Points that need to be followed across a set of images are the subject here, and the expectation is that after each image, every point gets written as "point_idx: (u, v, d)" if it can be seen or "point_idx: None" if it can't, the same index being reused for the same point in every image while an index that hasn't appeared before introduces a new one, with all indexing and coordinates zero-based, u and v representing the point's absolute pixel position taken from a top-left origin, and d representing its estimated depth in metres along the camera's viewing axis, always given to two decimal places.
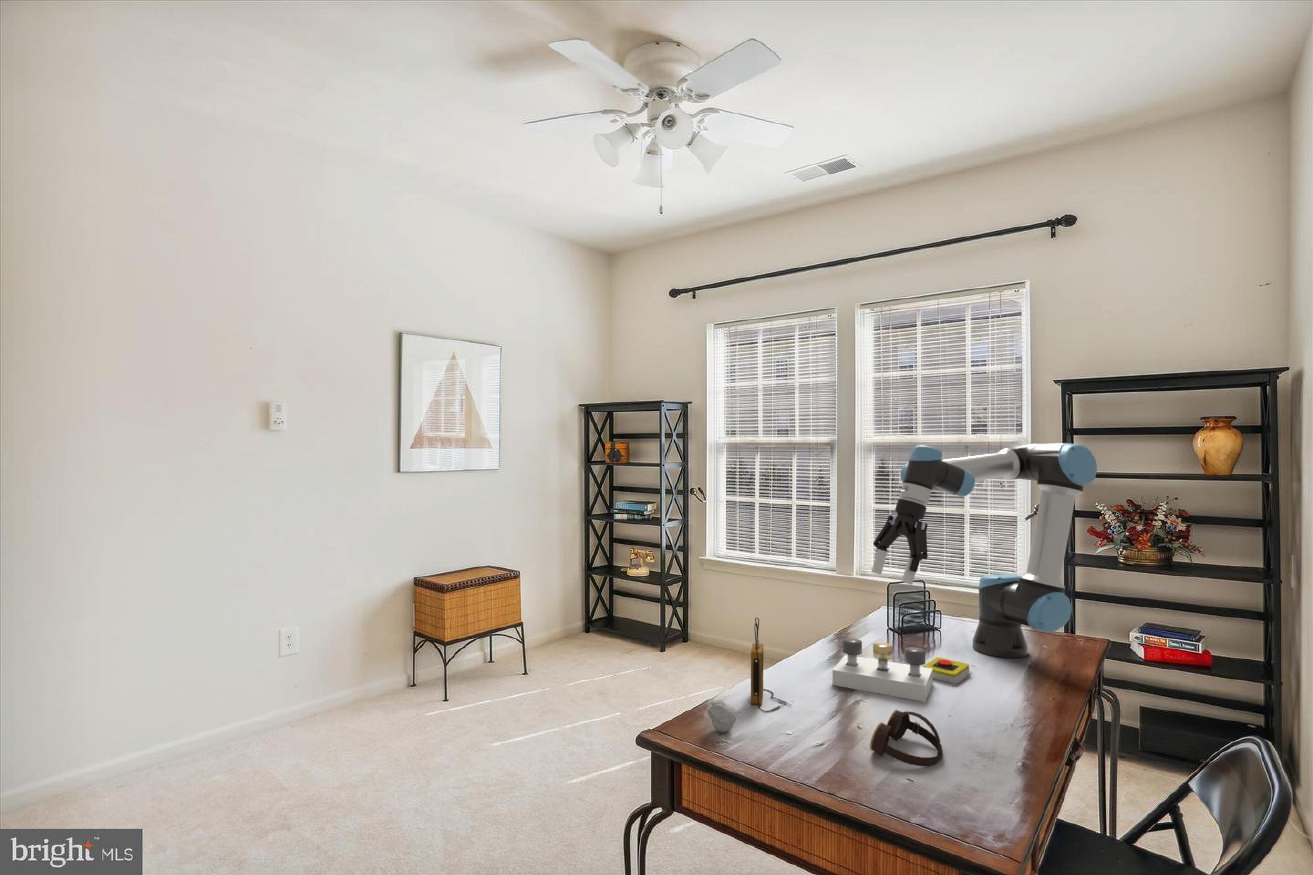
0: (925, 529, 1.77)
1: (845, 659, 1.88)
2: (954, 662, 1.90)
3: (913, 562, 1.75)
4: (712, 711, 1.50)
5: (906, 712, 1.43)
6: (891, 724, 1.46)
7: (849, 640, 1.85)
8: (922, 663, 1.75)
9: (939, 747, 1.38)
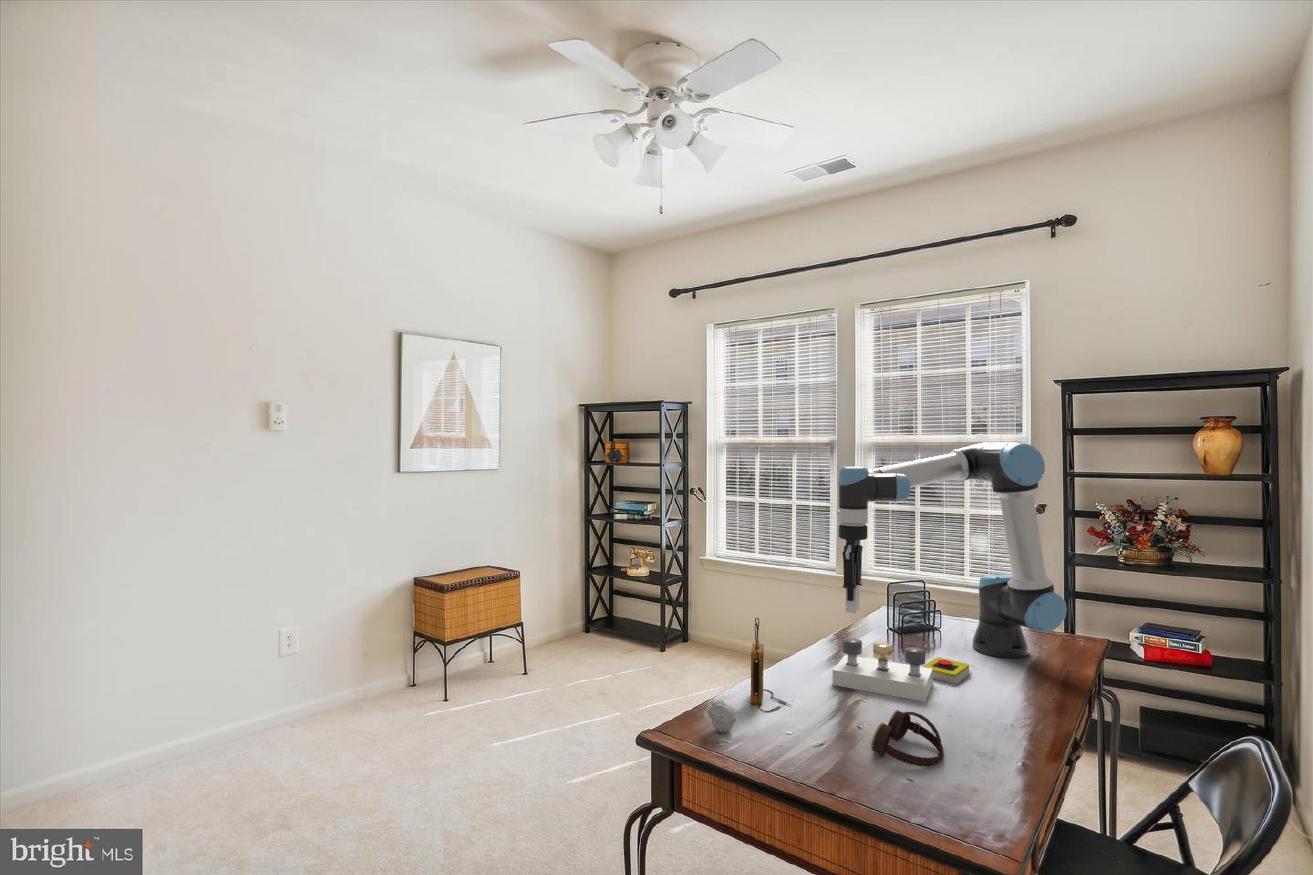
0: (850, 559, 1.79)
1: (845, 659, 1.88)
2: (954, 662, 1.90)
3: None
4: (712, 711, 1.50)
5: (907, 712, 1.43)
6: (892, 724, 1.46)
7: (849, 640, 1.85)
8: (922, 663, 1.75)
9: (940, 747, 1.38)
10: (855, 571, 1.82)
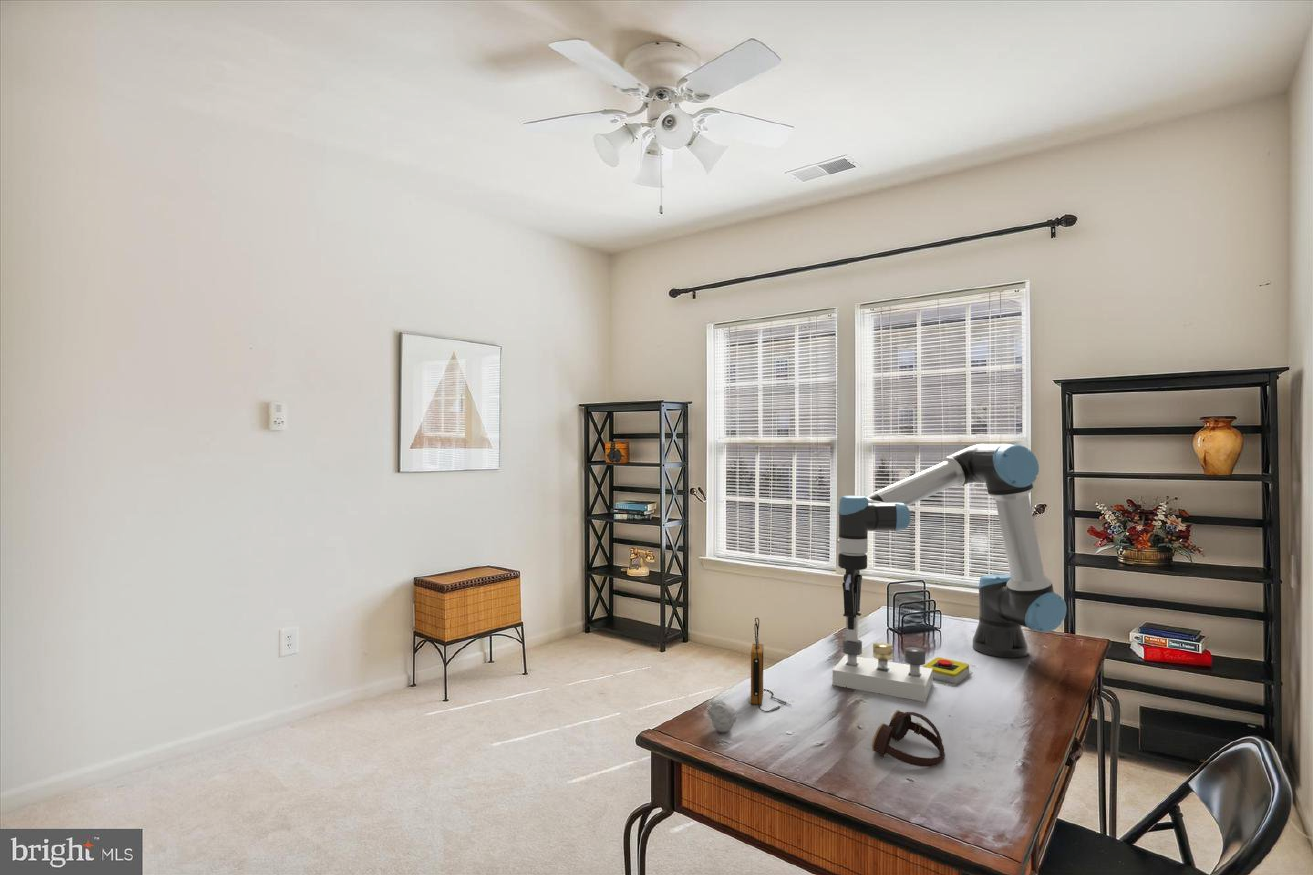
0: (850, 590, 1.79)
1: (845, 659, 1.88)
2: (954, 662, 1.90)
3: None
4: (712, 711, 1.50)
5: (908, 712, 1.43)
6: (893, 725, 1.46)
7: None
8: (922, 663, 1.75)
9: (941, 747, 1.38)
10: (855, 600, 1.83)
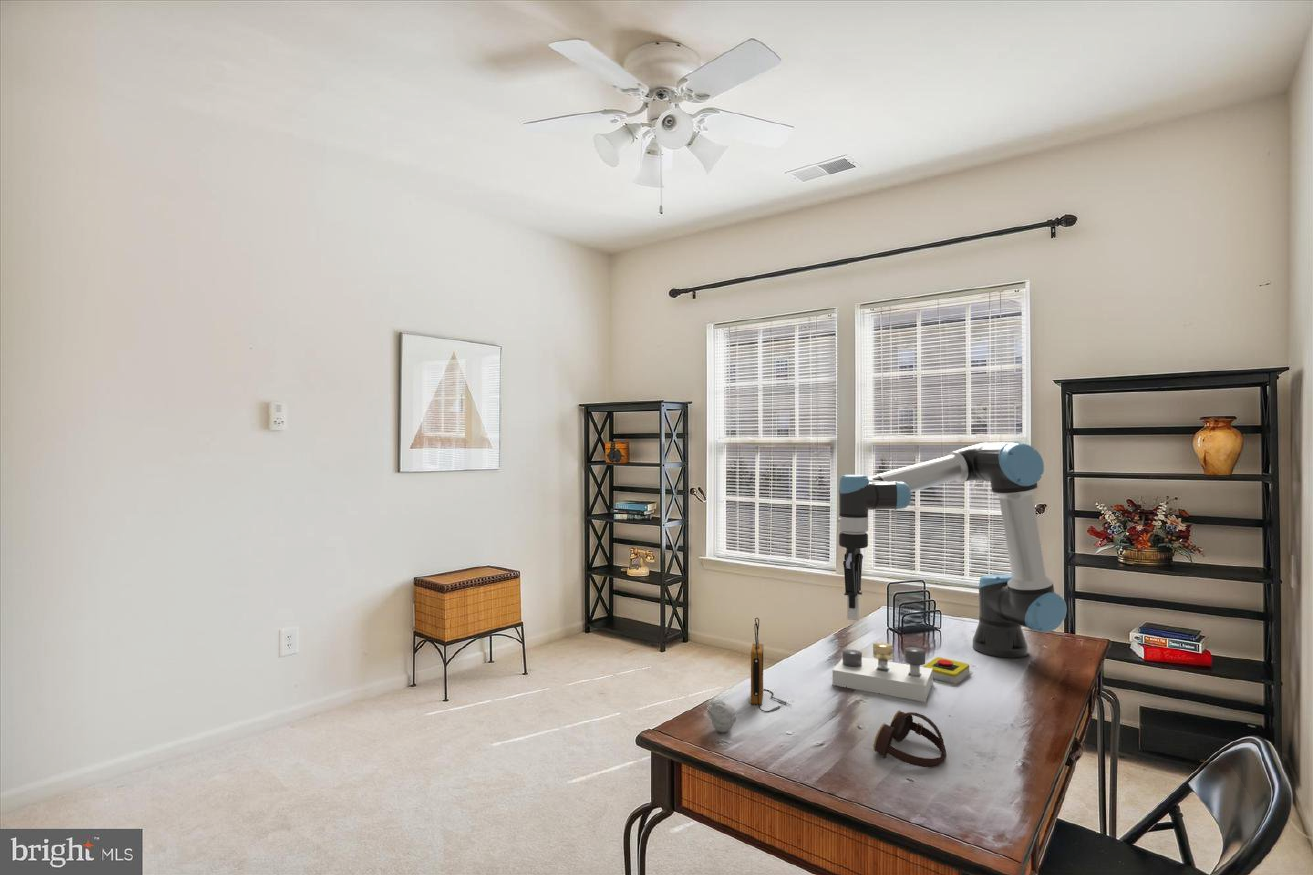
0: (851, 568, 1.79)
1: None
2: (954, 662, 1.90)
3: None
4: (712, 711, 1.50)
5: (909, 713, 1.42)
6: (894, 725, 1.46)
7: (849, 651, 1.85)
8: (922, 663, 1.75)
9: (943, 748, 1.38)
10: (856, 579, 1.83)
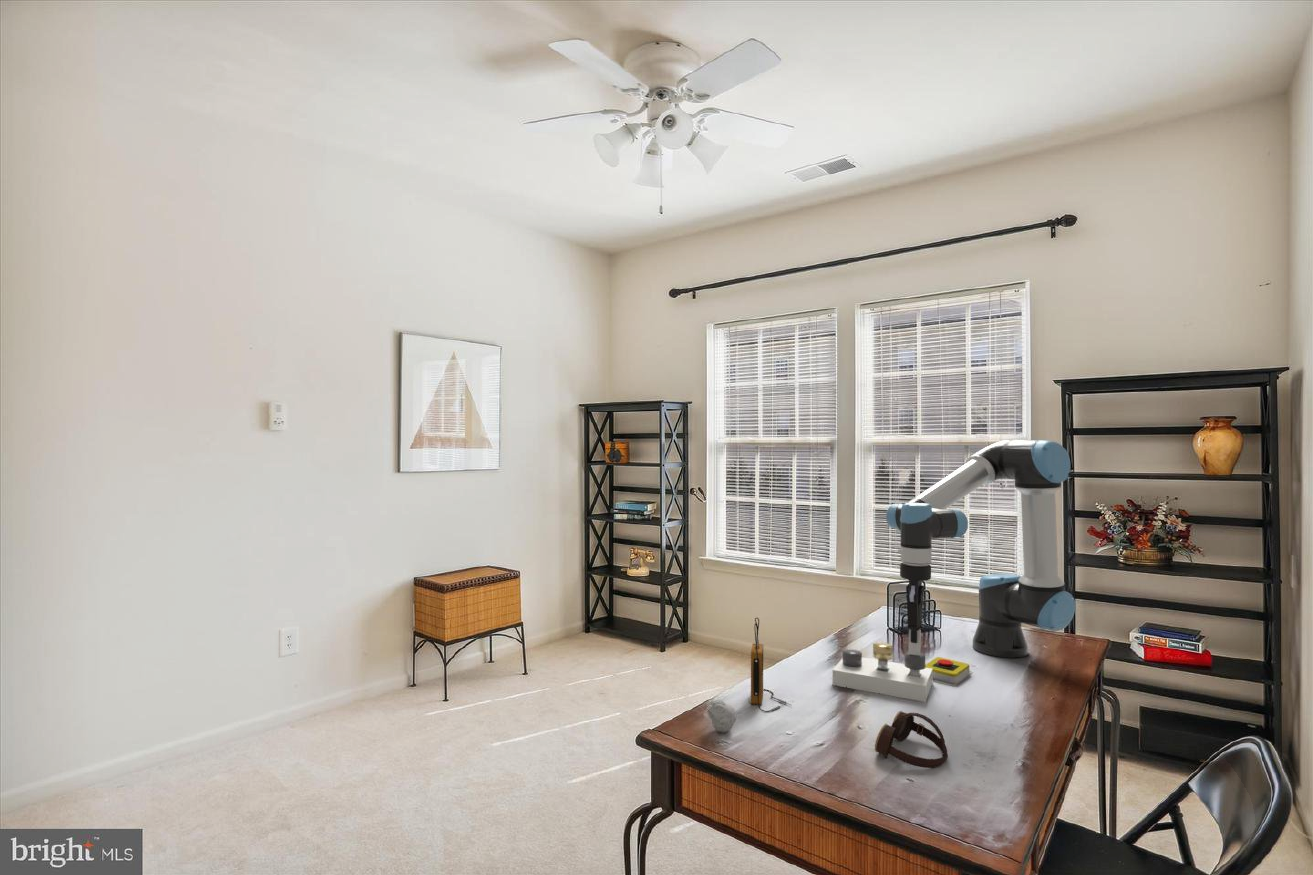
0: (915, 602, 1.72)
1: None
2: (954, 662, 1.91)
3: (911, 633, 1.76)
4: (712, 711, 1.50)
5: (911, 713, 1.42)
6: (895, 725, 1.46)
7: (849, 651, 1.85)
8: (922, 668, 1.75)
9: (944, 748, 1.38)
10: (919, 612, 1.75)
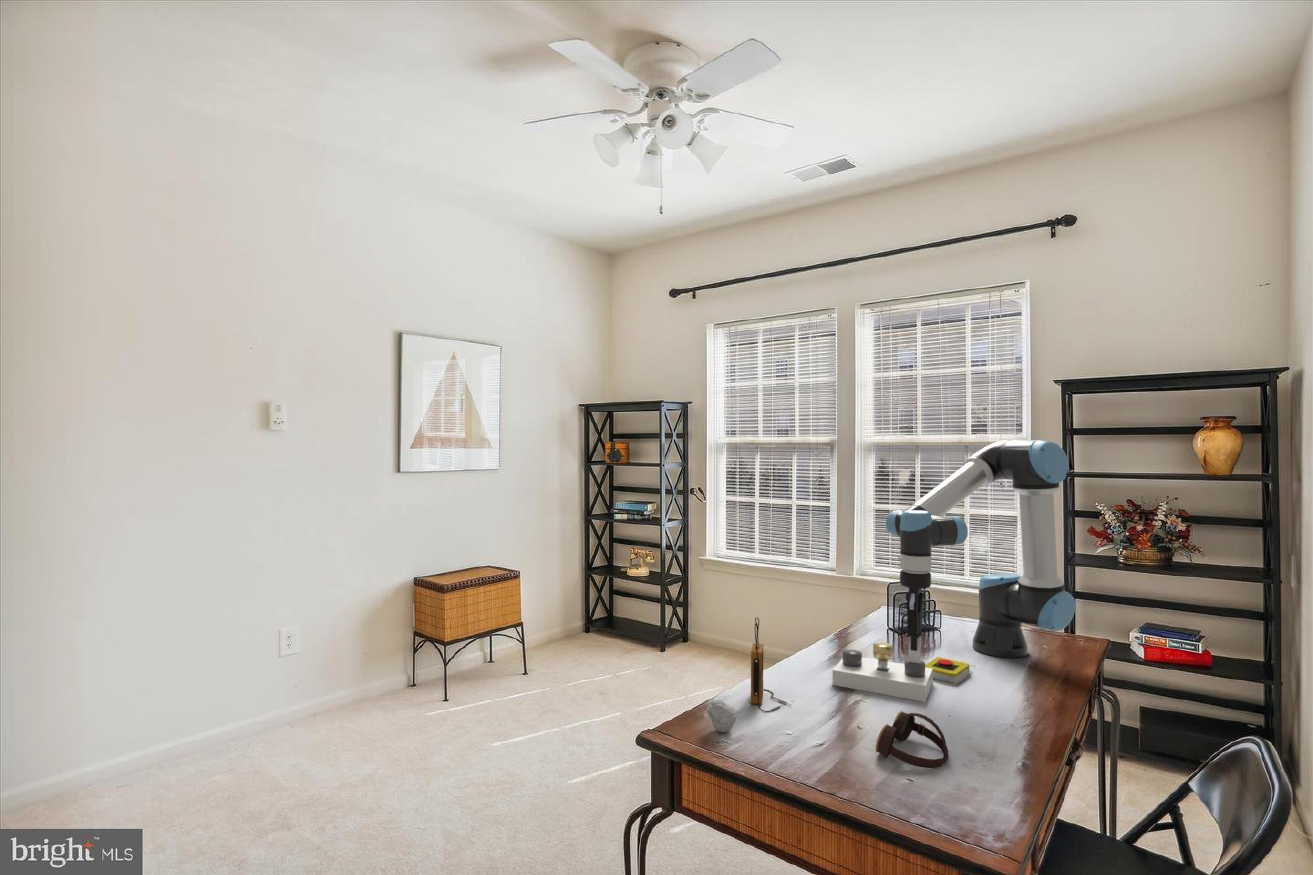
0: (915, 610, 1.72)
1: None
2: (954, 662, 1.91)
3: (911, 641, 1.76)
4: (712, 711, 1.50)
5: (911, 714, 1.42)
6: (896, 726, 1.46)
7: (849, 651, 1.85)
8: (922, 675, 1.75)
9: (945, 749, 1.38)
10: (919, 620, 1.75)
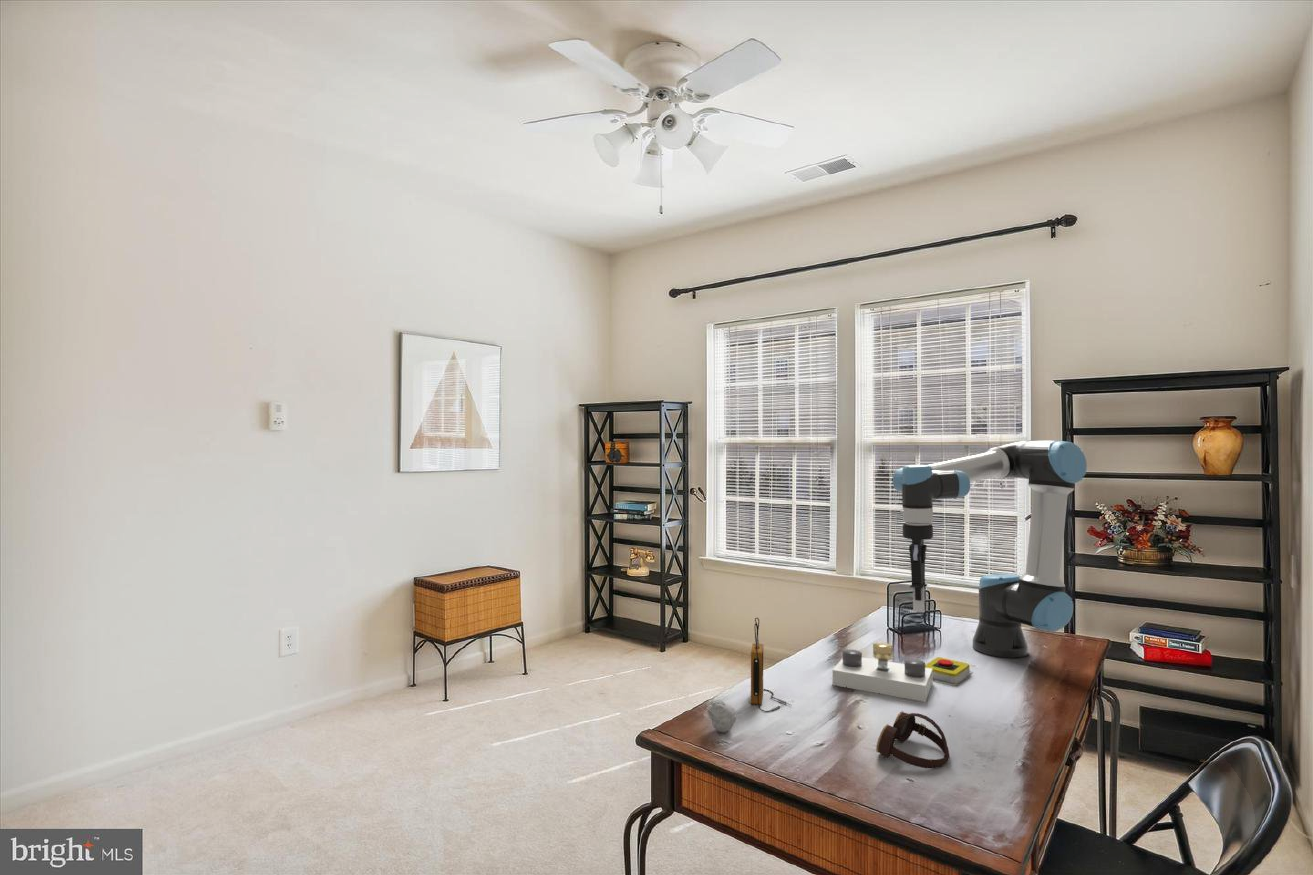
0: (918, 560, 1.76)
1: None
2: (954, 662, 1.91)
3: (915, 591, 1.81)
4: (712, 711, 1.50)
5: (912, 714, 1.42)
6: (897, 726, 1.46)
7: (849, 651, 1.85)
8: (922, 675, 1.75)
9: (946, 749, 1.38)
10: (922, 571, 1.80)
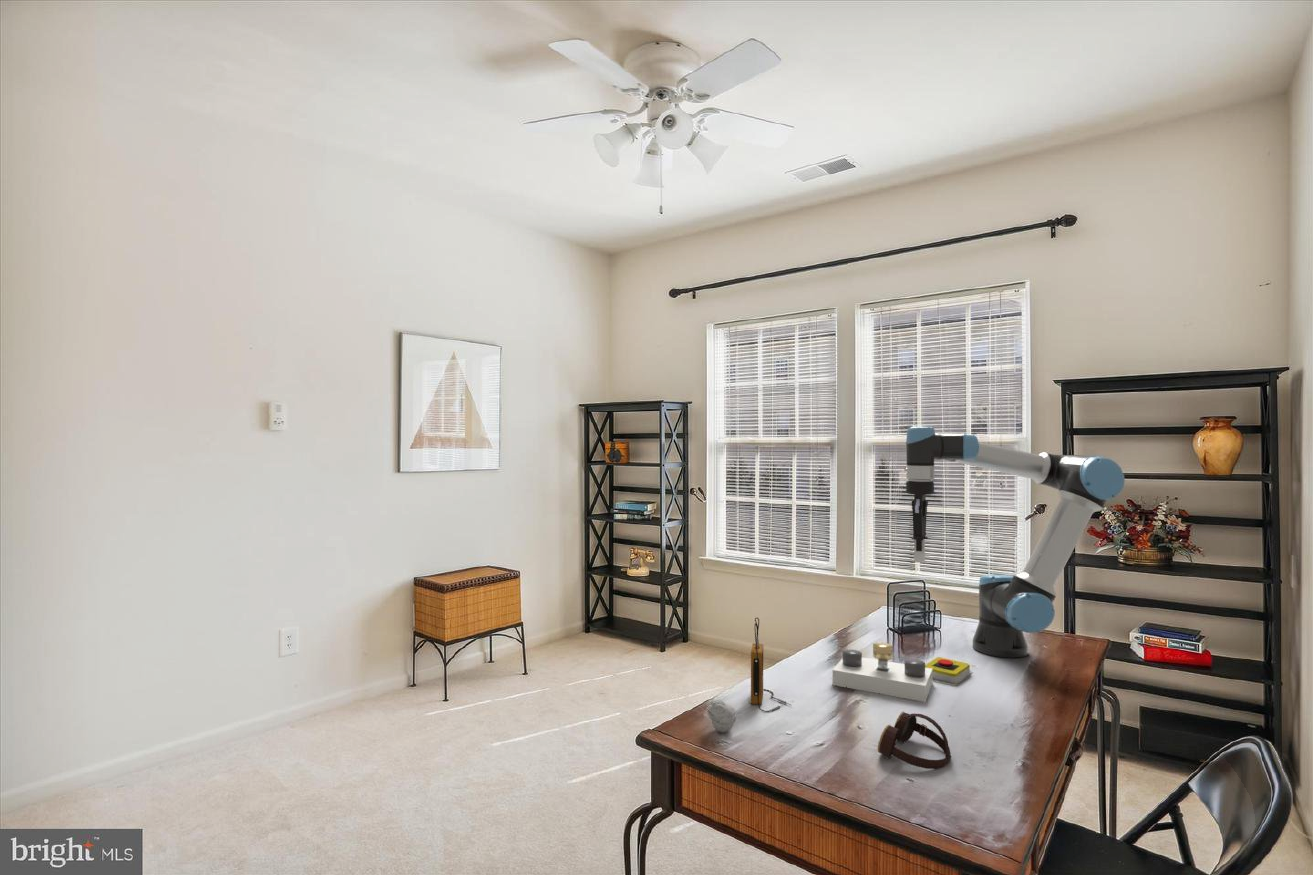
0: (920, 513, 1.92)
1: None
2: (955, 662, 1.91)
3: (916, 543, 1.96)
4: (712, 711, 1.50)
5: (914, 714, 1.42)
6: (898, 726, 1.45)
7: (849, 651, 1.85)
8: (922, 675, 1.75)
9: (947, 749, 1.37)
10: (923, 524, 1.95)
